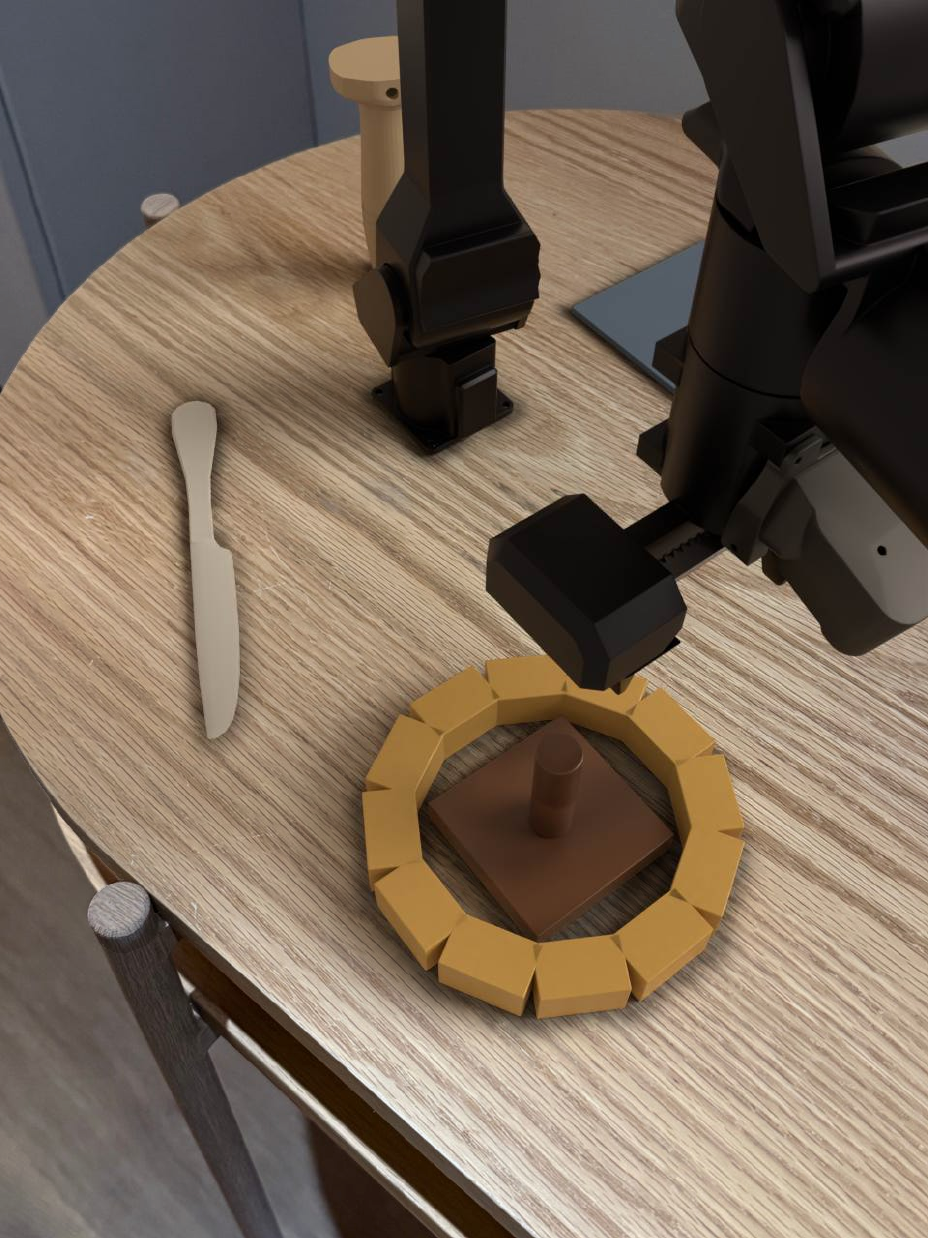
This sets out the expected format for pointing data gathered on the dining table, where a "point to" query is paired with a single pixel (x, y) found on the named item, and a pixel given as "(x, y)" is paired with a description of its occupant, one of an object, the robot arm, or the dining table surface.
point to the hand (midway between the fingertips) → (695, 630)
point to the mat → (645, 308)
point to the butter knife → (209, 571)
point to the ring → (503, 959)
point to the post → (549, 829)
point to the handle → (373, 119)
